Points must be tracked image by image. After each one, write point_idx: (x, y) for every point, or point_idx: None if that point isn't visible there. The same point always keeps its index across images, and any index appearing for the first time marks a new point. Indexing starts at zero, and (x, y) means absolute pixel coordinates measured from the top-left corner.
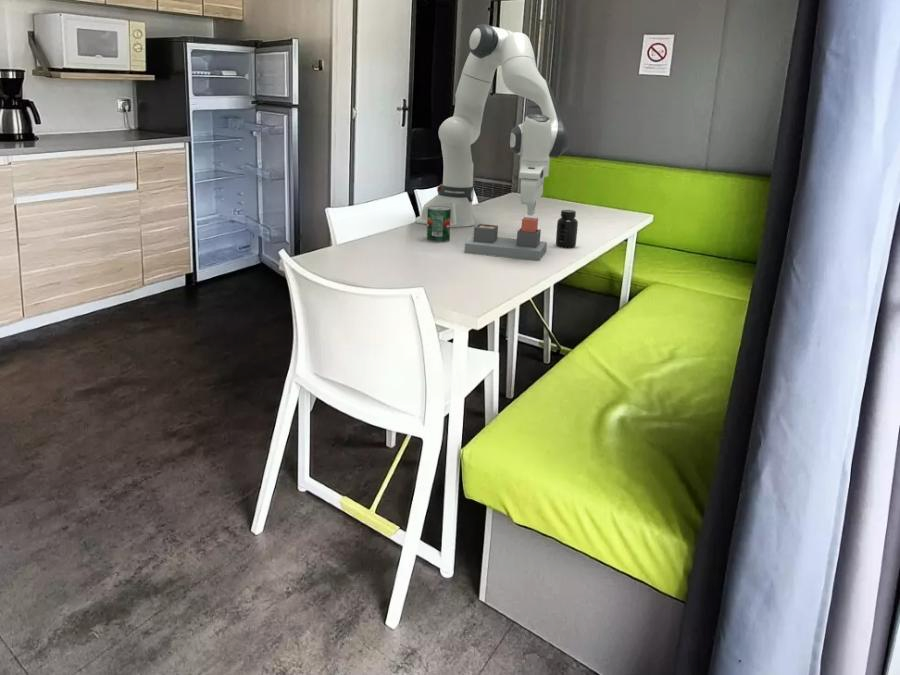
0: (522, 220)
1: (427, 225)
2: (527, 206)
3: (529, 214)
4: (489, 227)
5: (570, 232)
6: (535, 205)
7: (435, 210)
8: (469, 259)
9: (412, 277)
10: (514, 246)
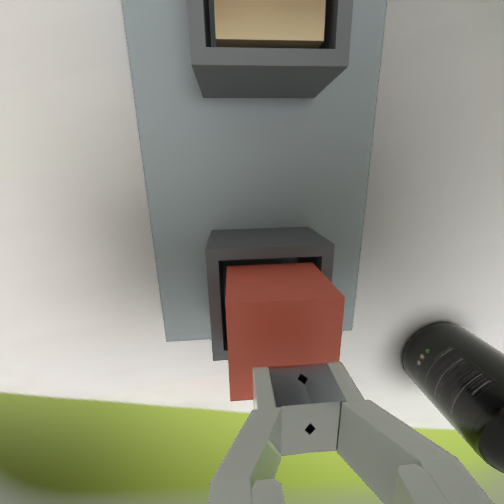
0: (225, 304)
1: None
2: (227, 453)
3: (253, 385)
4: (277, 4)
5: (446, 416)
6: (381, 489)
7: None
8: (8, 26)
9: None
10: (194, 224)
